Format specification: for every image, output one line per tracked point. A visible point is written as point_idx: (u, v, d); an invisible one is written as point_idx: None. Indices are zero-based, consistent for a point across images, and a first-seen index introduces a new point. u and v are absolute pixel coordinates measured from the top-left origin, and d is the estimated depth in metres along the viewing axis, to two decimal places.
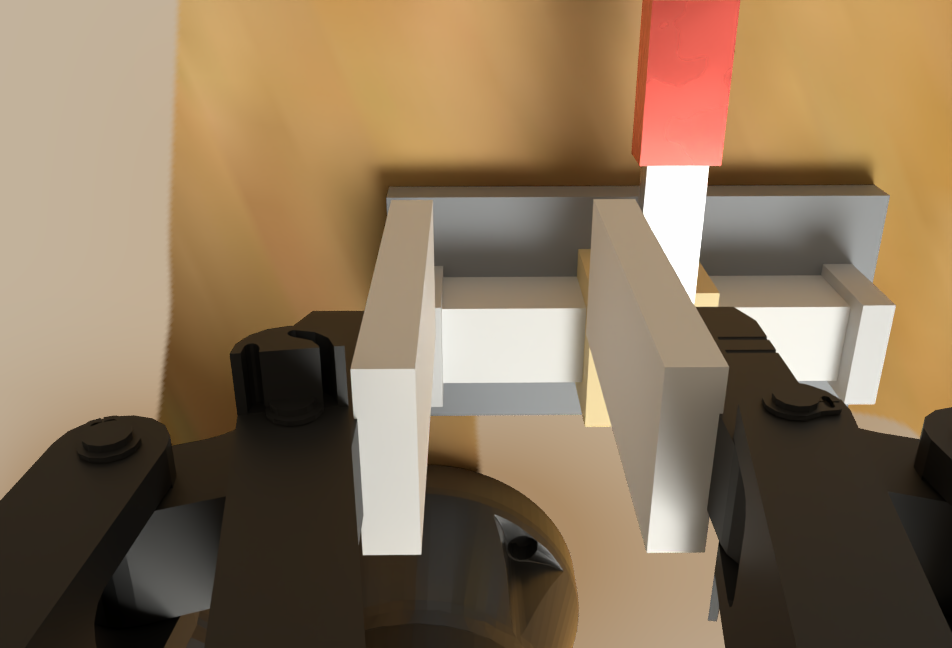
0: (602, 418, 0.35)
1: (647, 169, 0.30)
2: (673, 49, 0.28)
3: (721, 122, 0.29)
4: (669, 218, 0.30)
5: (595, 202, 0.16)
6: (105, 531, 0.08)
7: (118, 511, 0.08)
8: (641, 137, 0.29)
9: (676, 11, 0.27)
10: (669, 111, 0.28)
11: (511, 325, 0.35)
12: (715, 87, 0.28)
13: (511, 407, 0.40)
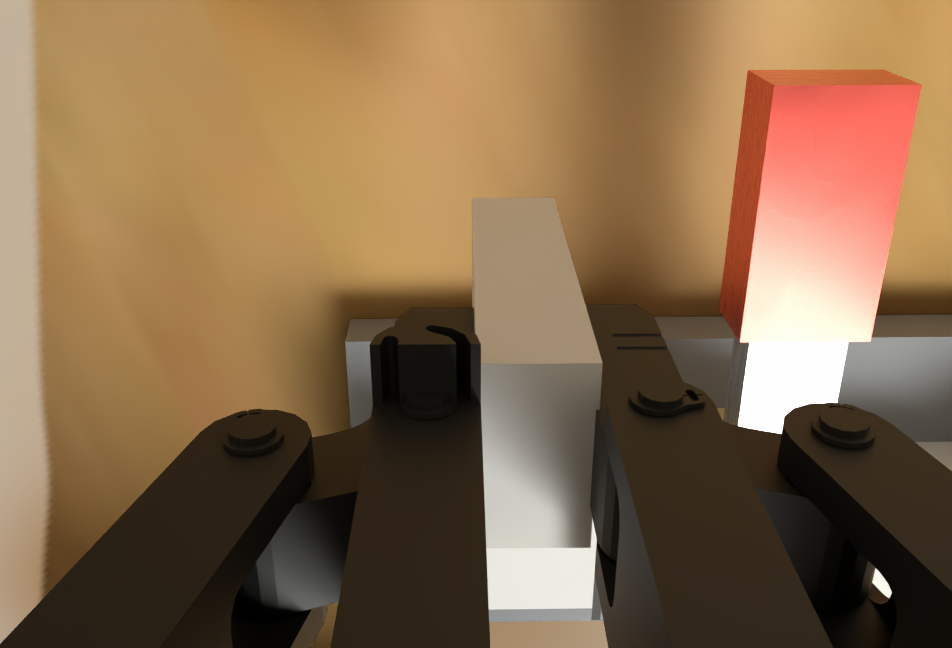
0: None
1: (750, 344, 0.18)
2: (804, 163, 0.17)
3: (875, 276, 0.18)
4: (781, 415, 0.19)
5: (513, 200, 0.16)
6: (246, 526, 0.08)
7: (259, 506, 0.09)
8: (745, 299, 0.18)
9: (813, 103, 0.16)
10: (792, 260, 0.17)
11: None
12: (870, 223, 0.17)
13: (524, 611, 0.29)
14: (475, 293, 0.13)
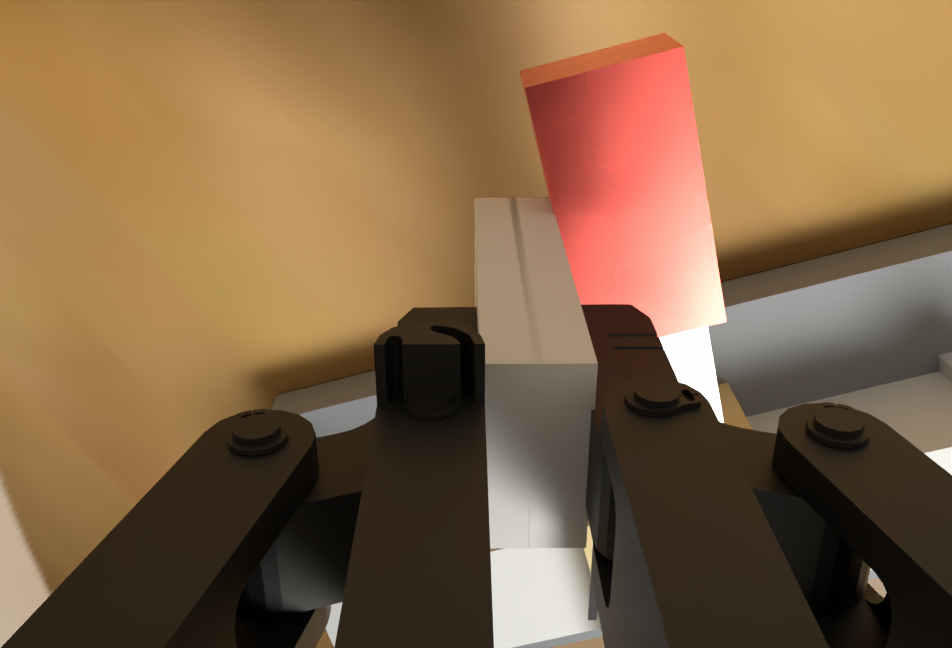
0: None
1: None
2: (587, 158, 0.15)
3: (707, 254, 0.16)
4: None
5: (509, 201, 0.16)
6: (250, 526, 0.08)
7: (263, 506, 0.09)
8: None
9: (573, 95, 0.15)
10: (611, 259, 0.16)
11: None
12: (680, 201, 0.16)
13: None
14: (478, 293, 0.13)
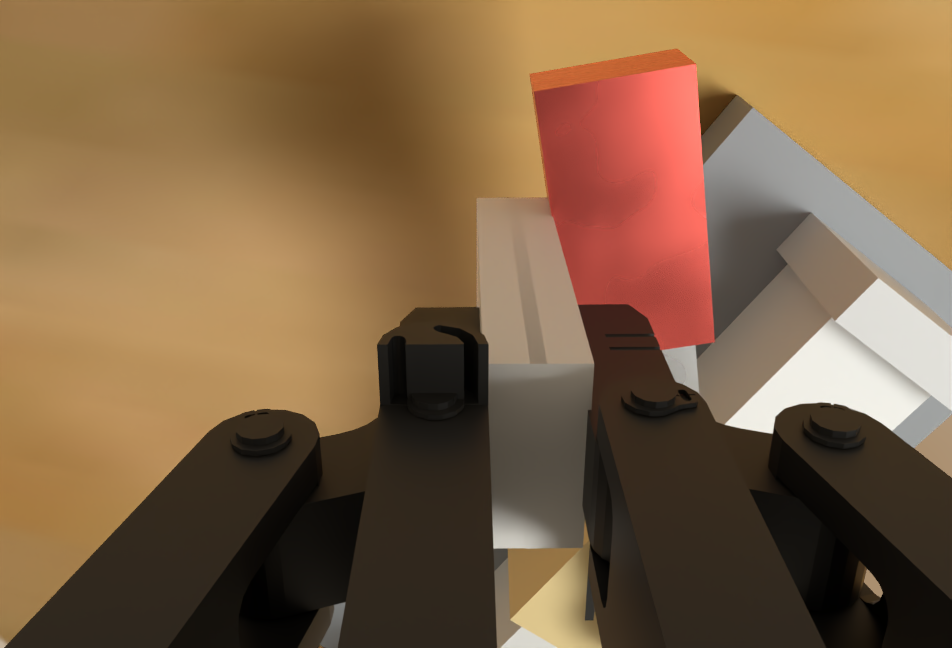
0: None
1: None
2: (590, 168, 0.15)
3: (701, 273, 0.16)
4: None
5: (507, 201, 0.16)
6: (254, 526, 0.08)
7: (267, 506, 0.09)
8: None
9: (582, 103, 0.15)
10: (605, 270, 0.16)
11: None
12: (679, 218, 0.16)
13: None
14: (481, 293, 0.13)
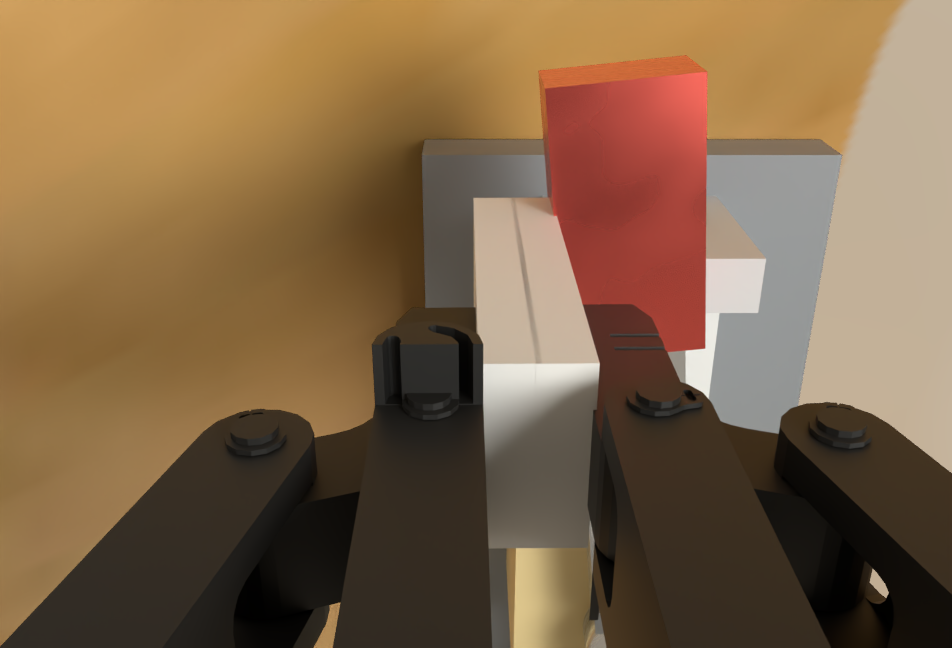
0: None
1: None
2: (595, 168, 0.15)
3: (697, 280, 0.16)
4: None
5: (511, 201, 0.16)
6: (249, 525, 0.08)
7: (262, 506, 0.09)
8: None
9: (591, 103, 0.15)
10: (602, 271, 0.16)
11: None
12: (679, 224, 0.16)
13: None
14: (476, 293, 0.13)
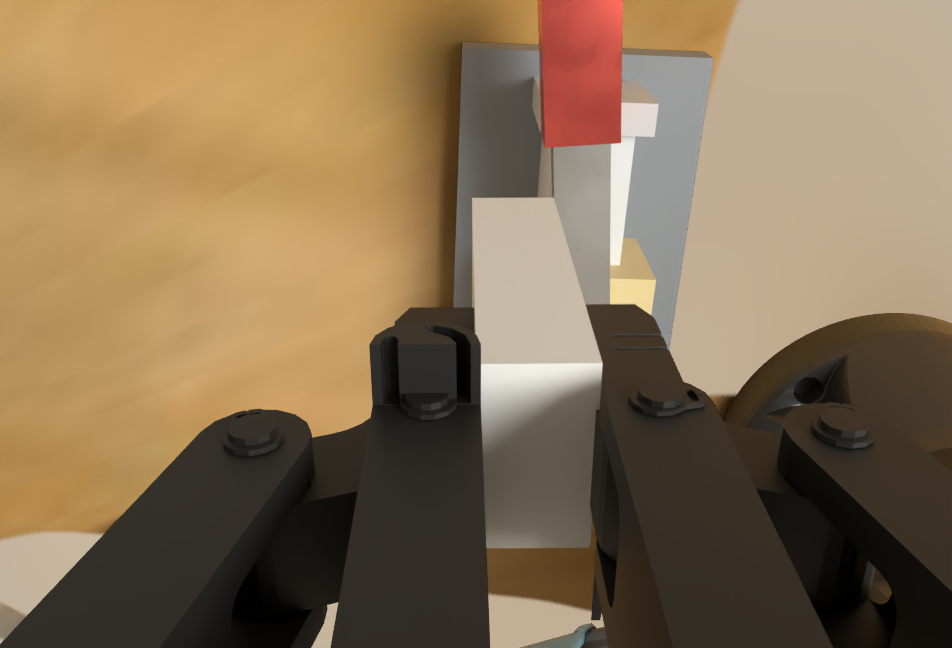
0: None
1: (553, 150, 0.32)
2: (565, 37, 0.30)
3: (617, 102, 0.31)
4: (578, 195, 0.32)
5: (513, 201, 0.16)
6: (246, 526, 0.08)
7: (259, 507, 0.09)
8: (544, 120, 0.31)
9: (564, 2, 0.29)
10: (567, 95, 0.31)
11: None
12: (608, 70, 0.30)
13: None
14: (475, 293, 0.13)
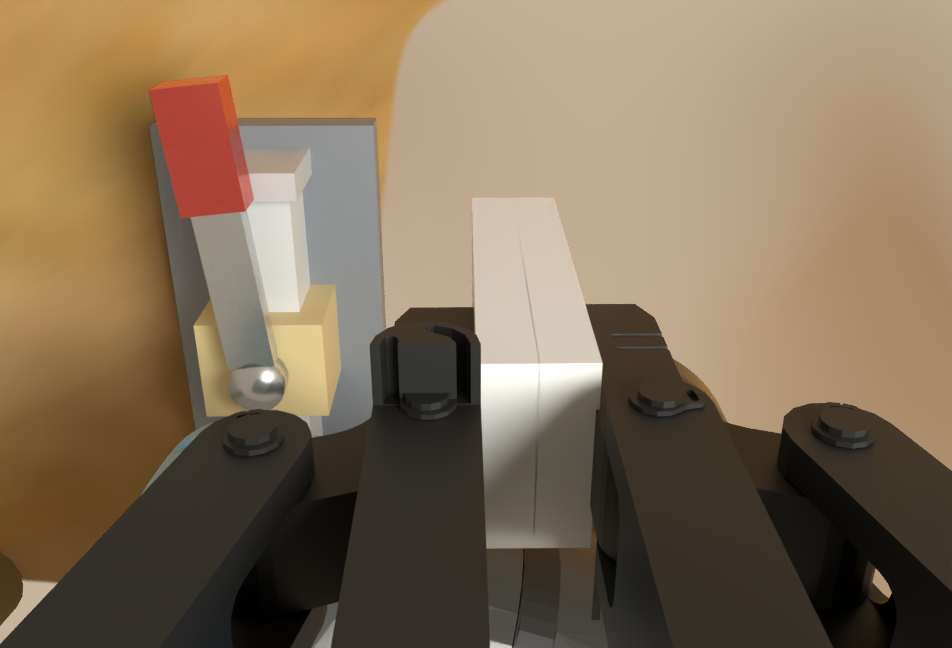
0: (319, 403, 0.42)
1: (191, 219, 0.36)
2: (177, 125, 0.34)
3: (234, 177, 0.35)
4: (222, 256, 0.37)
5: (513, 201, 0.16)
6: (246, 526, 0.08)
7: (259, 507, 0.09)
8: (175, 195, 0.36)
9: (170, 96, 0.34)
10: (190, 173, 0.35)
11: None
12: (220, 151, 0.35)
13: None
14: (475, 293, 0.13)
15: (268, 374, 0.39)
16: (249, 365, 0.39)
